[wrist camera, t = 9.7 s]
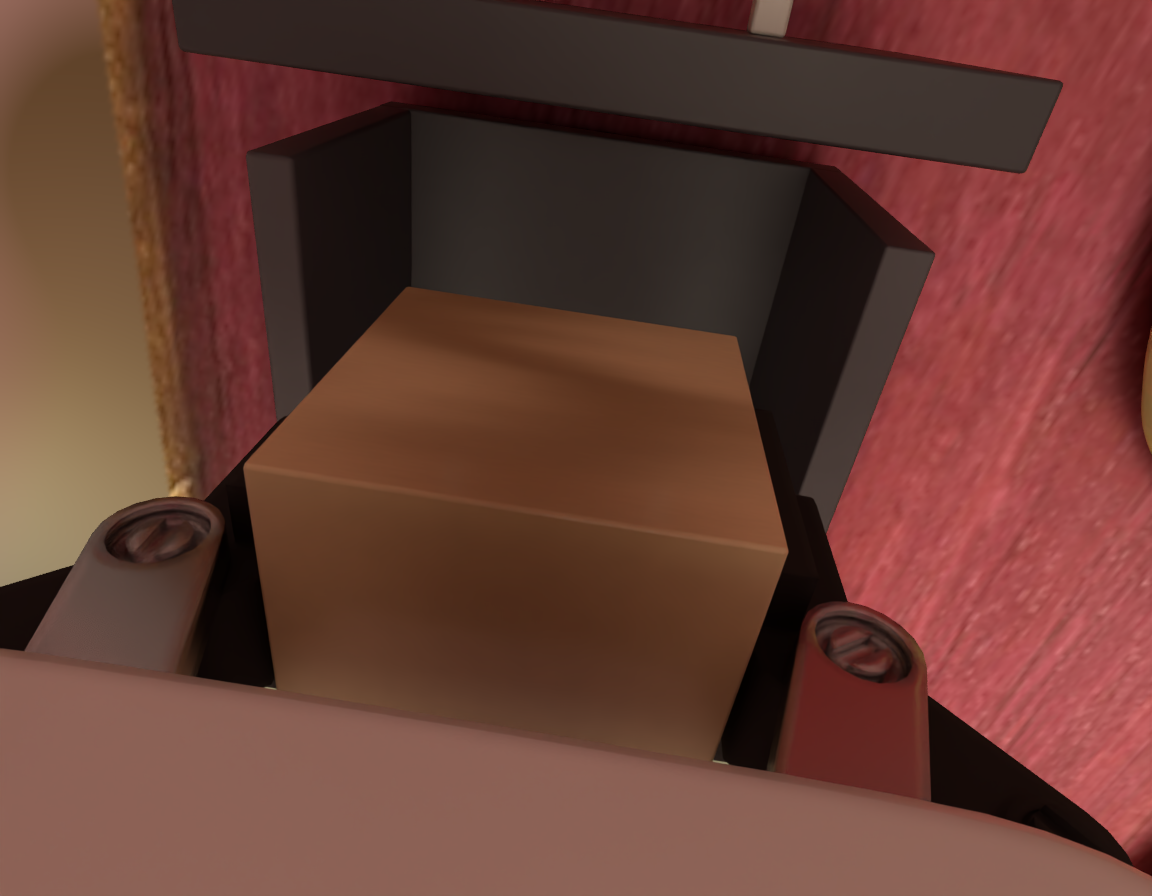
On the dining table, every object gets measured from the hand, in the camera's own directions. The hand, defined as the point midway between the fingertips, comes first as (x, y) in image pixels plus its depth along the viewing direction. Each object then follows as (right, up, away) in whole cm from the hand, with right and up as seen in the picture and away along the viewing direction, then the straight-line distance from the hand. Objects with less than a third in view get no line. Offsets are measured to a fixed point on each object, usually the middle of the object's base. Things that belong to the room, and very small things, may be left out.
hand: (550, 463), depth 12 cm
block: (0, 0, 0) cm, 0 cm away
